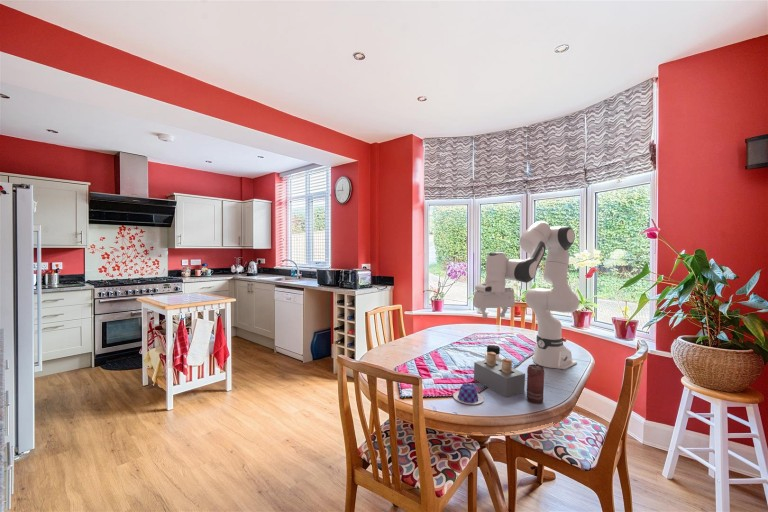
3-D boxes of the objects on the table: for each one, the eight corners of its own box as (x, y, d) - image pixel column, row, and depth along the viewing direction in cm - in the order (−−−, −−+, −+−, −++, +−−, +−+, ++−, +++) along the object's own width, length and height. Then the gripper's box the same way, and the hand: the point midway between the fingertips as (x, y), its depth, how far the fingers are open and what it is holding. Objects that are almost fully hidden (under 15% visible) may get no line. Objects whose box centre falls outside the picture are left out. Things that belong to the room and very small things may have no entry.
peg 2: (506, 374, 145) (506, 357, 145) (513, 378, 142) (514, 360, 141) (499, 376, 144) (500, 359, 143) (506, 379, 140) (507, 362, 140)
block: (491, 375, 158) (492, 358, 158) (524, 391, 141) (525, 373, 140) (473, 379, 153) (474, 362, 153) (505, 397, 136) (506, 378, 136)
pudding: (447, 394, 138) (447, 382, 138) (471, 390, 143) (471, 378, 143) (464, 408, 127) (465, 395, 127) (489, 403, 132) (490, 390, 131)
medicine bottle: (501, 372, 161) (502, 348, 160) (485, 371, 162) (486, 347, 161) (499, 367, 168) (499, 344, 167) (484, 366, 169) (485, 343, 168)
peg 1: (491, 367, 153) (491, 351, 153) (497, 370, 150) (498, 354, 149) (484, 368, 152) (485, 352, 151) (491, 371, 148) (491, 355, 148)
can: (523, 397, 136) (524, 363, 136) (537, 396, 137) (539, 363, 136) (530, 404, 130) (532, 369, 130) (546, 404, 131) (547, 369, 130)
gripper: (509, 286, 157) (507, 315, 157) (472, 286, 150) (470, 316, 151) (518, 287, 151) (517, 318, 151) (480, 288, 144) (478, 319, 145)
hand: (493, 317), depth 151 cm, fingers open, 8 cm apart
